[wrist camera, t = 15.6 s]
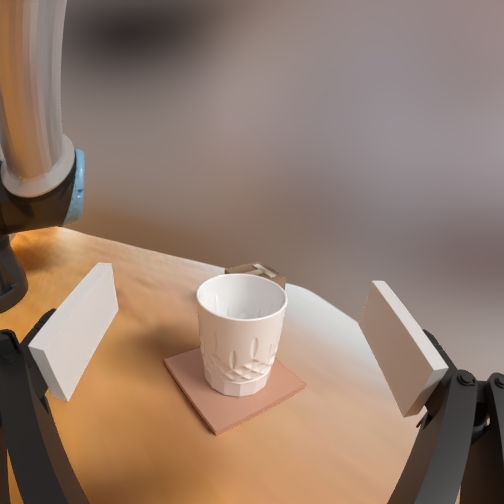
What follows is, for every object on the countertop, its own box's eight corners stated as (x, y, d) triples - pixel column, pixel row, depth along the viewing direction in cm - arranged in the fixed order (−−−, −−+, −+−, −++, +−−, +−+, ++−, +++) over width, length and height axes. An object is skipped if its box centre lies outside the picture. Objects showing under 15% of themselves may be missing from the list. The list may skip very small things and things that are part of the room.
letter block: (222, 305, 43) (224, 267, 41) (255, 295, 47) (258, 259, 44) (247, 327, 39) (250, 286, 36) (280, 314, 42) (286, 276, 40)
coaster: (164, 363, 30) (164, 358, 30) (244, 335, 37) (245, 330, 36) (215, 435, 22) (215, 431, 22) (304, 388, 29) (306, 383, 28)
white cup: (275, 354, 32) (287, 278, 29) (272, 406, 25) (287, 325, 21) (208, 345, 33) (208, 269, 29) (190, 394, 26) (184, 312, 22)
